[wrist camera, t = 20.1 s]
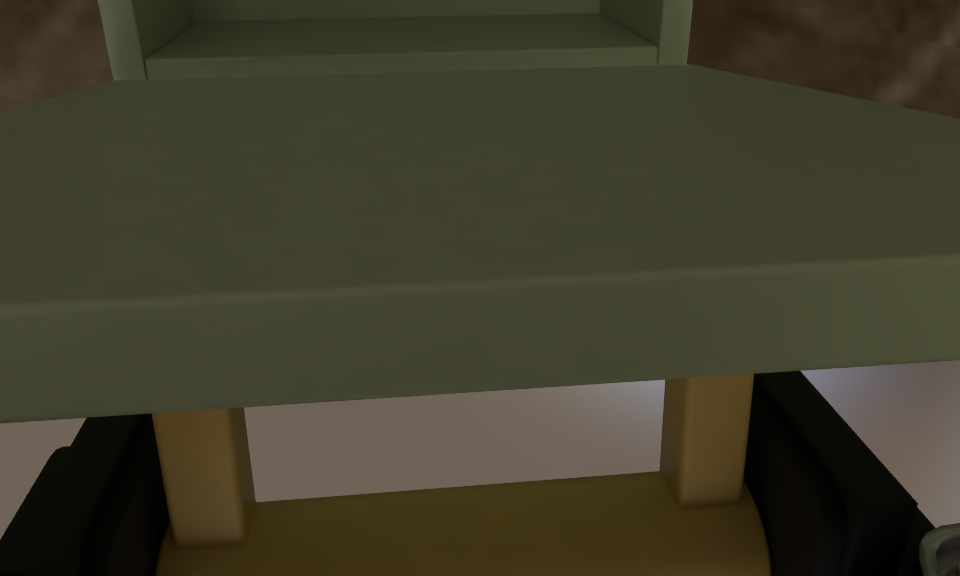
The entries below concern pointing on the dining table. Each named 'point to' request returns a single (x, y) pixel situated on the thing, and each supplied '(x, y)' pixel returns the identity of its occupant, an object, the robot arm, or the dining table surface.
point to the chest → (386, 36)
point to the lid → (464, 288)
